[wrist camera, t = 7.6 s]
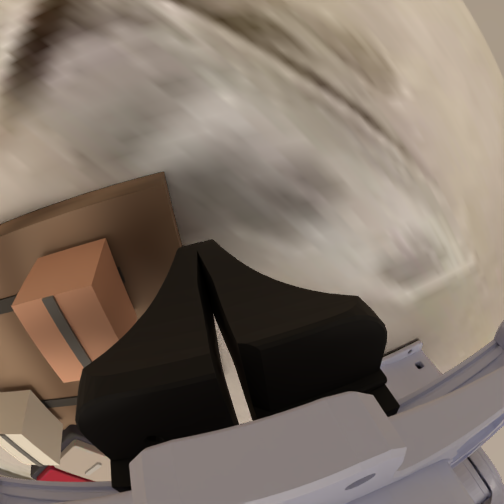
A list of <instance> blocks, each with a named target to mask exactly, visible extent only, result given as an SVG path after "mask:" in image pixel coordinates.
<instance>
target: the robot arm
mask: <svg viewBox="0 0 504 504" xmlns="http://www.w3.org/2000/svg"><path fill="white" fill-rule="evenodd" d="M213 314H214V316H215V319H216V321H217V324H218V326H219V329H220V331H221V333H222V336H223V338H224V341H225V343H226V345H227V348H228V350H229V352H230V355H231V357H232V360H233V362H234V365H235V368H236V371H237V374H238V377H239V380H240V383H241V386H242V389H243V392H244V396H245V399H246V402H247V405H248V408H249V411H250V414H251V417H252V420H253V421H251V422H247V423H244V424H240V425H239V423H238V420H237V417H236V413H235V410H234V407H233V404H232V400H231V397H230V394H229V390H228V387H227V383H226V380H225V377H224V373H223V369H222V365H221V360H220V354H219V348H218V342H217V335H216V329H215V323H214V316H213ZM386 342H387V330H386V327H385V324H384V323H383V322H382V321H381V320H380V319H379V317H378V316H377V315H376V314H375V313H374V311H373V310H372V309H371V308H370V307H369V306H368V305H367V304H366V303H365V302H364V301H363V300H361V299H360V298H359V297H358V296H350V295H340V294H329V293H323V292H318V291H312V290H308V289H303V288H299V287H296V286H292V285H289V284H286V283H283V282H280V281H277V280H275V279H272V278H270V277H268V276H265V275H263V274H261V273H259V272H257V271H255V270H253V269H251V268H250V267H248V266H246V265H245V264H243V263H242V262H240V261H239V260H237V259H236V258H235V257H233V256H232V255H231V254H229V253H228V252H227V251H225V250H224V249H223V248H222V247H221V246H220V245H219V244H218V243H217V242H215V241H214V240H208V241H204V242H200V243H196V244H192V245H188V246H184V247H180V248H178V249H177V251H176V254H175V257H174V260H173V262H172V265H171V267H170V269H169V272H168V274H167V276H166V278H165V280H164V282H163V284H162V286H161V288H160V289H159V291H158V293H157V295H156V296H155V298H154V300H153V301H152V303H151V304H150V306H149V307H148V308H147V310H146V311H145V312H144V314H143V315H142V316H141V317H140V318H139V319H138V321H137V322H136V323H135V324H134V325H133V326H132V327H131V329H130V330H129V331H128V332H127V333H126V334H125V335H124V336H123V337H122V338H121V339H120V340H118V341H117V342H116V343H115V344H114V345H113V346H112V347H111V348H109V349H108V350H107V351H106V352H105V353H103V354H102V355H101V356H99V357H98V358H97V359H95V360H94V361H93V362H91V363H90V364H89V365H87V366H86V367H84V368H83V369H82V374H81V378H80V382H79V387H78V395H77V404H76V415H75V422H76V425H77V428H78V429H79V431H80V432H81V433H82V434H83V436H84V437H85V438H86V439H87V440H89V441H90V442H91V443H92V444H93V445H94V446H95V447H96V448H97V449H99V450H100V451H101V452H102V453H103V454H104V455H105V456H107V457H108V458H109V459H110V466H111V481H99V482H57V481H38V480H26V479H16V478H8V477H1V476H0V504H504V485H503V483H502V479H501V477H500V475H499V473H498V471H497V469H496V468H495V466H494V465H493V463H492V462H491V460H490V459H489V457H488V456H487V455H486V453H485V452H484V451H483V449H482V448H481V447H480V446H481V445H483V444H484V443H485V442H486V441H487V440H488V439H490V438H491V437H492V436H493V435H494V434H495V433H496V432H497V431H498V430H499V429H500V428H501V427H502V426H503V425H504V320H503V322H502V323H501V324H500V326H499V328H498V330H497V332H496V334H495V337H494V340H492V341H491V342H490V343H488V344H487V345H486V346H484V347H483V348H481V349H480V350H479V351H477V352H476V353H474V354H473V355H472V356H470V357H469V358H467V359H466V360H464V361H463V362H461V363H460V364H458V365H457V366H455V367H454V368H452V369H451V370H449V371H447V372H446V373H444V374H443V375H442V373H441V372H440V371H439V370H438V369H437V367H436V366H435V365H434V364H433V363H432V362H431V360H430V359H429V358H428V357H427V356H426V355H425V354H424V352H423V351H422V350H421V348H422V345H423V343H422V342H421V341H420V340H418V341H416V342H414V343H412V344H410V345H408V346H406V347H404V348H402V349H400V350H398V351H396V352H394V353H391V354H389V355H387V356H385V357H383V354H384V350H385V346H386Z"/></svg>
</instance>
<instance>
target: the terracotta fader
mask: <svg viewBox="0 0 504 504" xmlns="http://www.w3.org/2000/svg"><path fill="white" fill-rule="evenodd" d="M11 307H12V308H13V310H14V312H15V313H16V315H17V317H18V318H19V320H20V322H21V323H22V325H23V326H24V328H25V330H26V331H27V333H28V334H29V336H30V337H31V339H32V340H33V342H34V343H35V345H36V346H37V348H38V349H39V350H40V352H41V353H42V355H43V356H44V358H45V359H46V360H47V362H48V363H49V364H50V366H51V367H52V368H53V370H54V371H55V372H56V374H57V375H58V376H59V378H60V379H61V380H62V381H63V383H66V382H72V381H79V380H80V378H81V374H82V369H83V368H84V367H86V366H87V365H89V364H90V363H91V362H93V361H94V360H95V359H97V358H98V357H99V356H101V355H102V354H103V353H105V352H106V351H107V350H108V349H109V348H111V347H112V346H113V345H114V344H115V343H116V342H117V341H118V340H120V339H121V338H122V337H123V336H124V335H125V334H126V333H127V332H128V331H129V330H130V329H131V327H132V326H133V325H134V324H135V323H136V322H137V315H136V312H135V310H134V308H133V305H132V303H131V301H130V299H129V296H128V294H127V291H126V289H125V287H124V284H123V282H122V279H121V277H120V274H119V272H118V269H117V267H116V264H115V262H114V259H113V256H112V254H111V251H110V248H109V246H108V243H107V240H106V238H104V239H100V240H97V241H93V242H90V243H86V244H83V245H79V246H76V247H73V248H69V249H66V250H63V251H59V252H56V253H53V254H50V255H46V256H43V257H40V258H38V259H37V260H36V262H35V264H34V265H33V267H32V269H31V271H30V272H29V274H28V276H27V278H26V279H25V281H24V283H23V285H22V287H21V288H20V290H19V292H18V294H17V296H16V298H15V300H14V302H13V304H12V306H11Z"/></svg>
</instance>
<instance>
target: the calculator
mask: <svg viewBox="0 0 504 504" xmlns="http://www.w3.org/2000/svg"><path fill="white" fill-rule="evenodd" d="M31 477H32V478H33V479H35V480H38V481H57V482H99V481H111V466H110V459H109V458H108V457H107V456H105V455H104V454H103V453H102V452H101V451H100V450H99V449H97V448H96V447H95V446H94V445H93V444H92V443H91V442H90V441H89V440H87V439H86V438H85V437H84V436H83V434H82V433H81V432H80V431H79V429H78V428H77V425H73V424H72V425H69V426H68V427H67V428H66V429H65V430H62V441H61V455H60V465H43V466H37V465H31Z"/></svg>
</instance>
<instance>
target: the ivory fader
mask: <svg viewBox="0 0 504 504" xmlns="http://www.w3.org/2000/svg"><path fill="white" fill-rule="evenodd" d="M62 430H63V424H62V423H61V422H60V421H59V420H58V419H57V418H56V417H55V416H54V415H53V414H52V413H51V412H50V411H49V410H48V409H47V408H46V406H45V405H44V404H43V403H42V402H41V401H40V400H39V399H38V398H37V397H36V396H35V394H34V393H33V392H32V391H31V390H22V391H12V392H0V446H1V447H2V448H3V449H4V450H6V451H7V452H8V453H9V454H11V455H12V456H13V457H15V458H16V459H17V460H19V461H20V462H21V463H23V464H28V465H37V466H43V465H60V455H61V441H62Z"/></svg>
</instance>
